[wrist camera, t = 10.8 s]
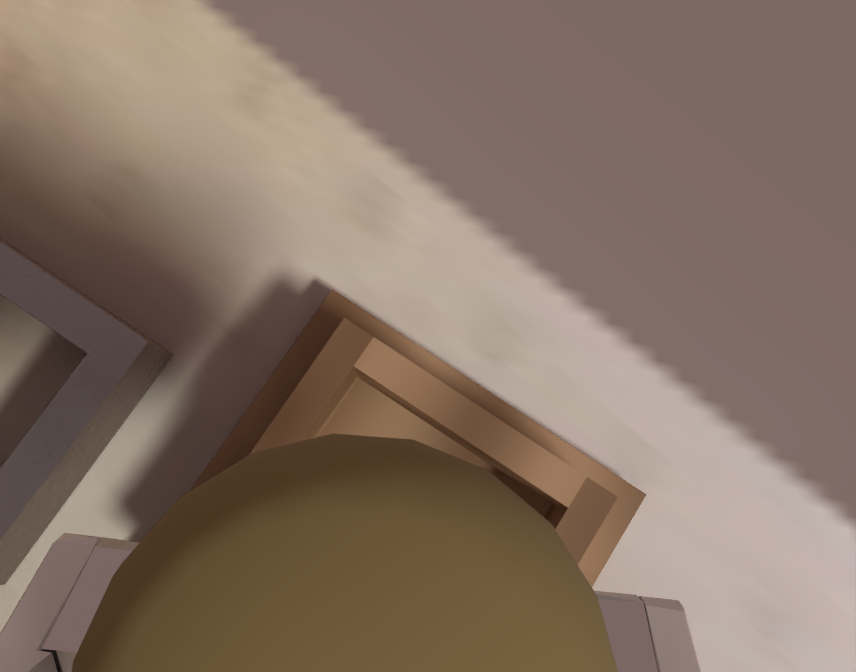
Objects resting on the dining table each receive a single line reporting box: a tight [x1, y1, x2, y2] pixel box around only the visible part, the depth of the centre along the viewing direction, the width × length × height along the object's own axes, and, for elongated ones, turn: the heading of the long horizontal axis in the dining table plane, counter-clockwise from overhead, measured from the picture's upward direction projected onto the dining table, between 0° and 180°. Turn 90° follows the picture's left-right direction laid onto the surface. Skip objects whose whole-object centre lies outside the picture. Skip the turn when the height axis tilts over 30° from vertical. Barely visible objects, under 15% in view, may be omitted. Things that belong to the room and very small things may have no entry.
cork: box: [71, 433, 618, 672], centre depth 11 cm, size 6×6×11 cm
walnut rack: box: [191, 290, 646, 587], centre depth 27 cm, size 14×13×4 cm
